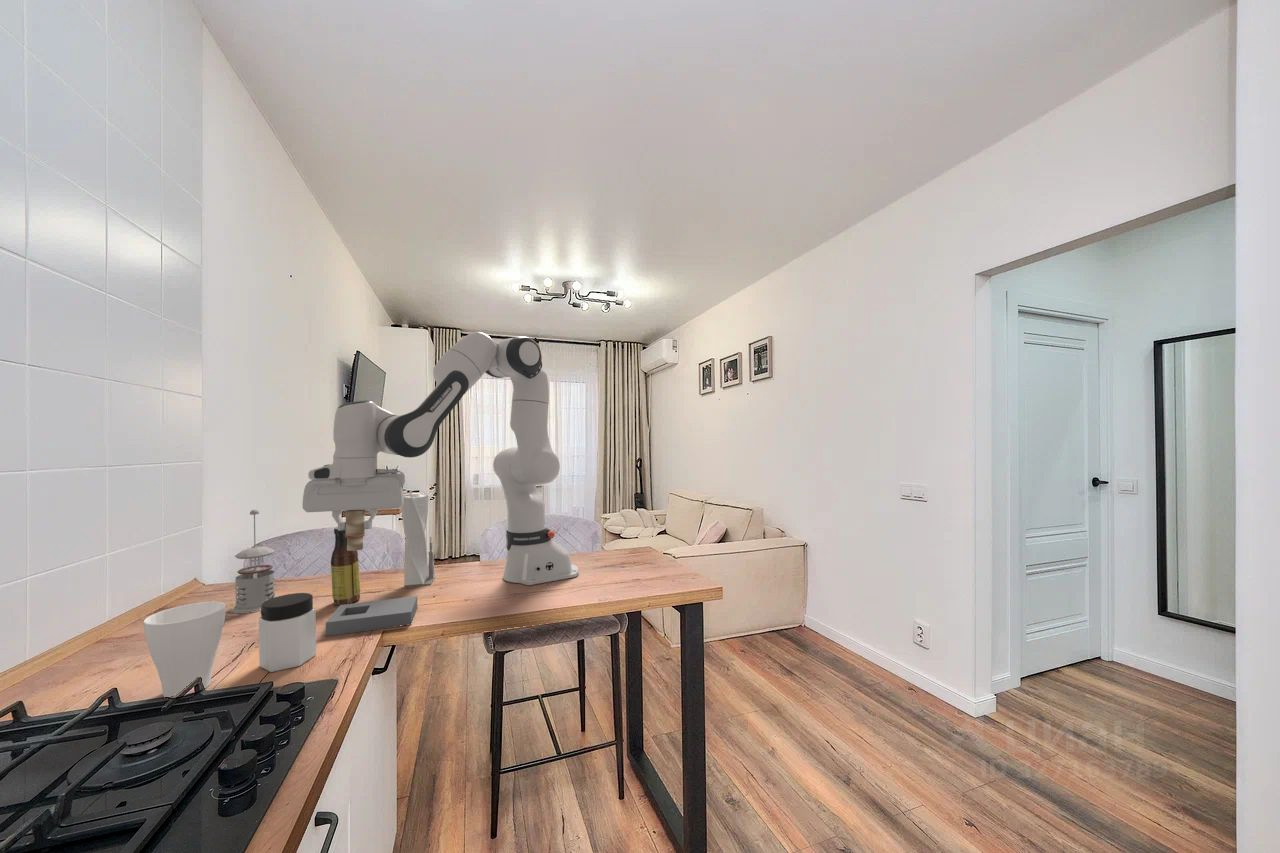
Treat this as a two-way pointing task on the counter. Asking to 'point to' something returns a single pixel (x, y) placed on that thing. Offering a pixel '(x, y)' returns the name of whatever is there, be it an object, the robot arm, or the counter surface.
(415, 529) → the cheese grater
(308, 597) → the jar
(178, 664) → the cup
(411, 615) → the board
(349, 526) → the peg
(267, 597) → the french press
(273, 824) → the counter surface
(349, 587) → the sauce bottle
